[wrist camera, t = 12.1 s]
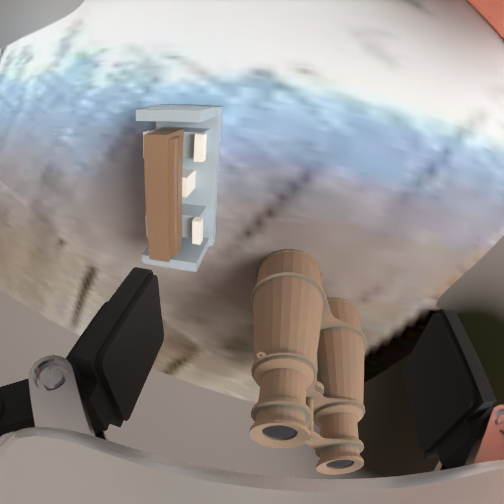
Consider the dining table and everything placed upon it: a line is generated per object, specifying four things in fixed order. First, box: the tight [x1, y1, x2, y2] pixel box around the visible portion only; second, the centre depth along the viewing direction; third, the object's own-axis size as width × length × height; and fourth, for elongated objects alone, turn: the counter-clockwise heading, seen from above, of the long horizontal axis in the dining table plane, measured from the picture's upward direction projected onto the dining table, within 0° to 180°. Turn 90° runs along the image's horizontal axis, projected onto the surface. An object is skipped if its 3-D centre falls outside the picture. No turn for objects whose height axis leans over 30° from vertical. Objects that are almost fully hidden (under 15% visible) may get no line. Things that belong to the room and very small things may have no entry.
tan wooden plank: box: [144, 127, 184, 262], centre depth 33 cm, size 14×3×5 cm, turn 175°
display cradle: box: [136, 104, 223, 272], centre depth 36 cm, size 18×8×8 cm, turn 175°
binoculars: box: [249, 249, 367, 474], centre depth 36 cm, size 21×10×25 cm, turn 42°
